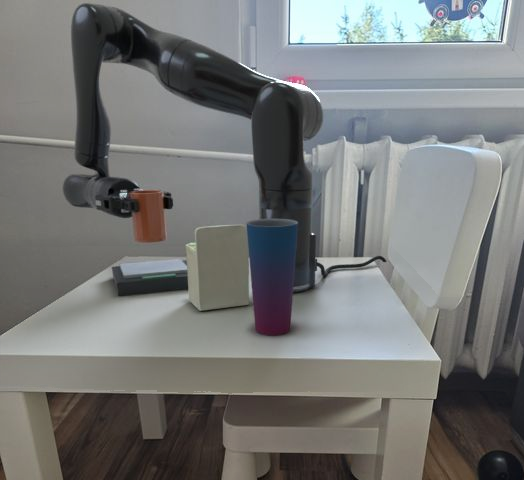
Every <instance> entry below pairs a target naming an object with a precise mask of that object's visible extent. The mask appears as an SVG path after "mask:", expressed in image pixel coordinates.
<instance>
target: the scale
mask: <svg viewBox="0 0 524 480" xmlns="http://www.w3.org/2000/svg"><path fill="white" fill-rule="evenodd" d="M111 272H112V279H113V282H114V285H115V289H116V293H117V297H123V296H133V295H143V294H151V293H152V294H153V293H160V292H161V293H162V292H169V291H180V290H188V273H187V259H185V260H182V259H181V258H174V259H173V258H172V259H162V260H150V261H140V262H127V263H120V264H119V265H117V266H111Z"/></svg>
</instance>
